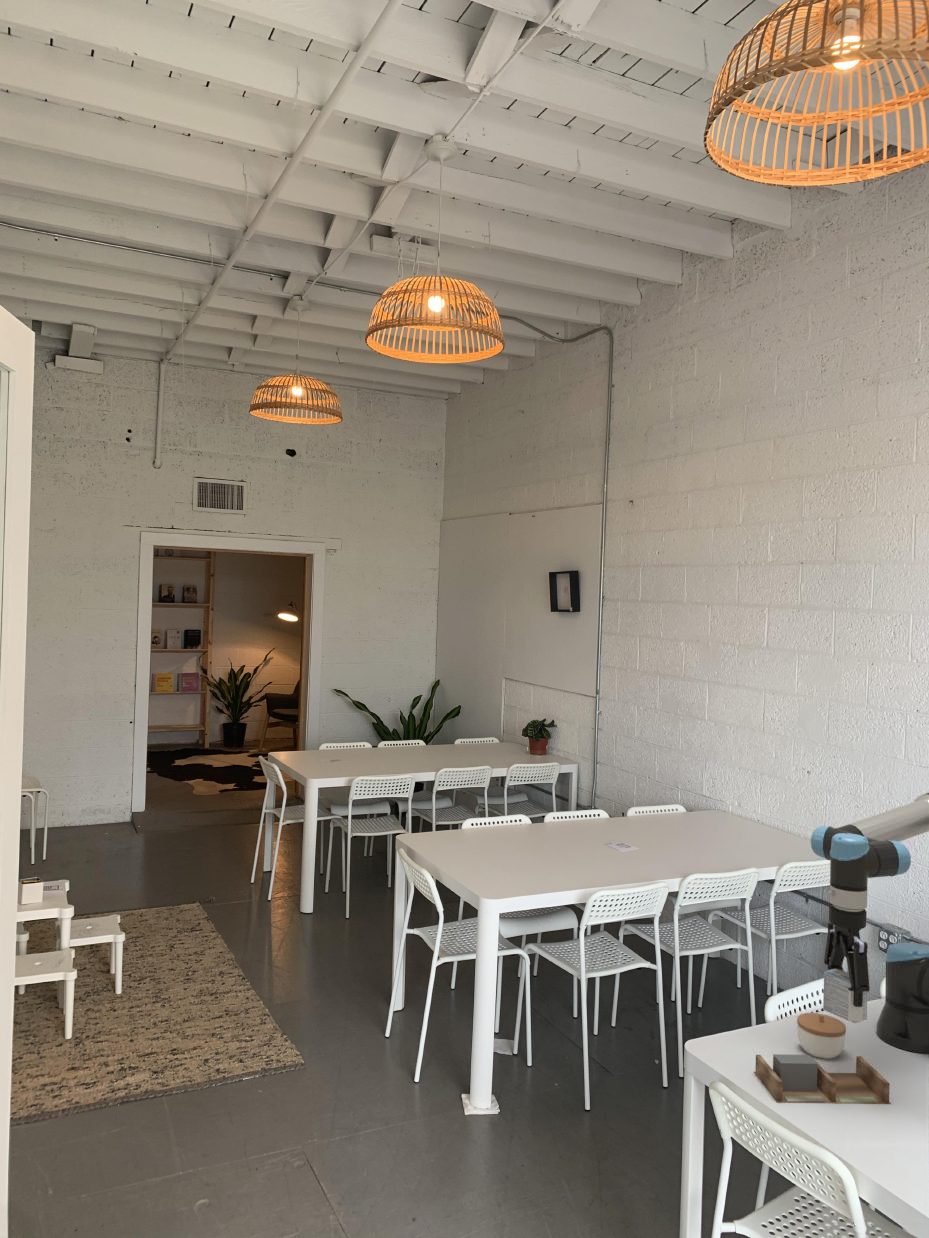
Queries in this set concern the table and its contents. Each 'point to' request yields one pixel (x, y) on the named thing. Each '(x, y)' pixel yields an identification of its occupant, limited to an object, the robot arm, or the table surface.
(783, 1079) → the rubber block
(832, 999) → the medicine box
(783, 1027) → the table surface
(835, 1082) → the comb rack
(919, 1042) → the robot arm
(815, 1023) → the lidded jar
